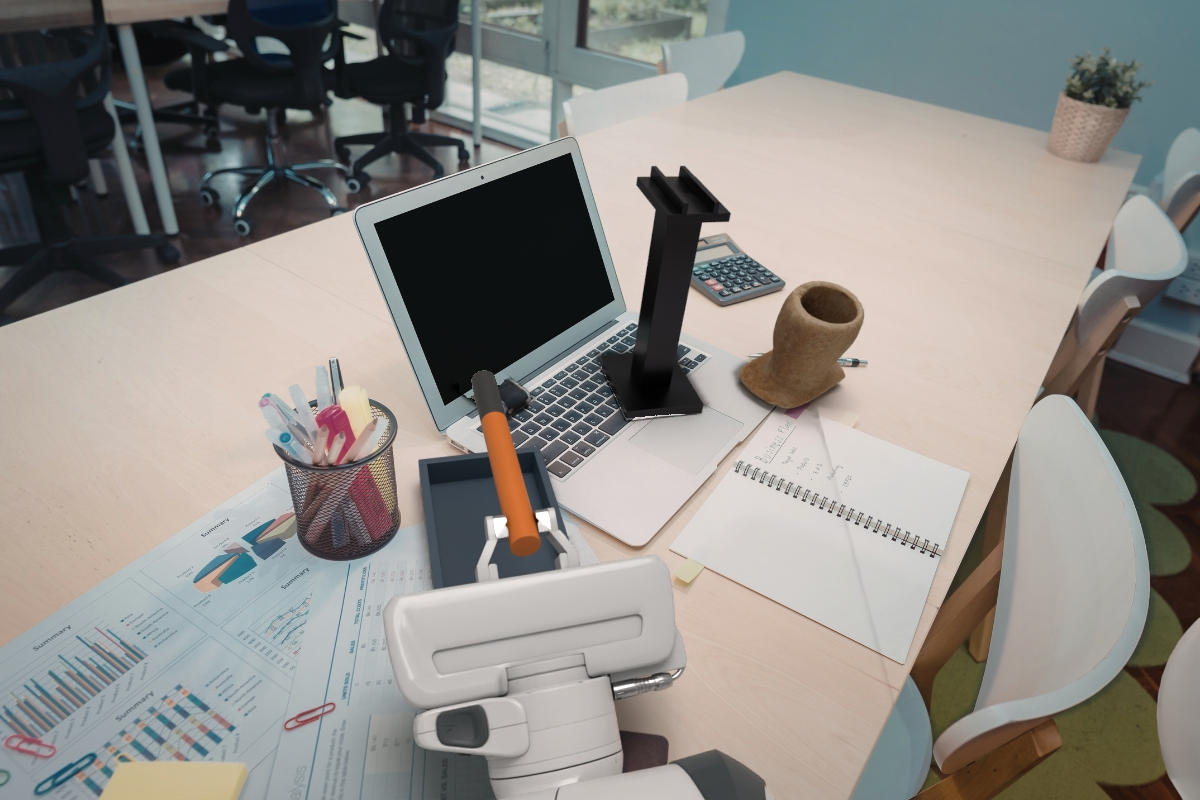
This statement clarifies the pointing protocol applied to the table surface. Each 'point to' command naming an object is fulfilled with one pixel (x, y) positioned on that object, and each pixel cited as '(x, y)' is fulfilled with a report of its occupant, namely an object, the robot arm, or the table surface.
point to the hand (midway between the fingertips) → (518, 513)
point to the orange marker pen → (505, 466)
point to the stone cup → (806, 345)
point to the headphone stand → (664, 299)
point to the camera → (512, 396)
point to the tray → (479, 516)
